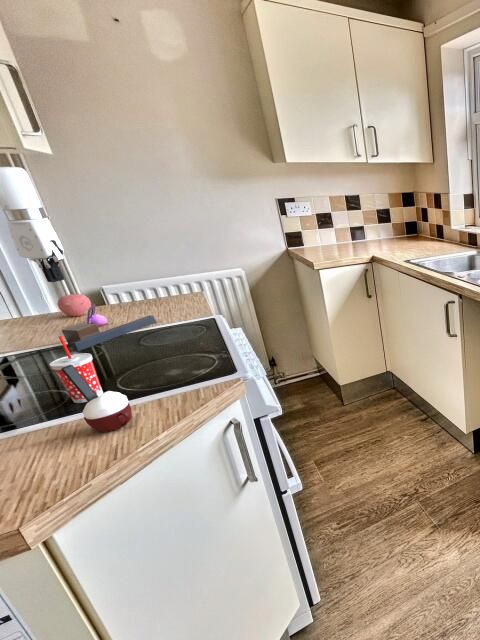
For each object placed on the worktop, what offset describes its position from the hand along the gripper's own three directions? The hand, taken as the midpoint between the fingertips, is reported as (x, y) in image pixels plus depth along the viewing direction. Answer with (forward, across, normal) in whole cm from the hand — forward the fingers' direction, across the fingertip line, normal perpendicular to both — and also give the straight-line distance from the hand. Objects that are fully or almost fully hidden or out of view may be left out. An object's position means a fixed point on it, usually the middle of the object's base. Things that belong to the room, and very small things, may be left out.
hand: (56, 280), depth 122 cm
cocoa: (+15, +67, -43) cm, 81 cm away
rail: (+15, +20, -4) cm, 25 cm away
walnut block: (+15, +17, -10) cm, 25 cm away
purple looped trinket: (+15, +6, +2) cm, 16 cm away
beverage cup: (+15, +51, -35) cm, 63 cm away
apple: (+15, -12, +9) cm, 21 cm away
